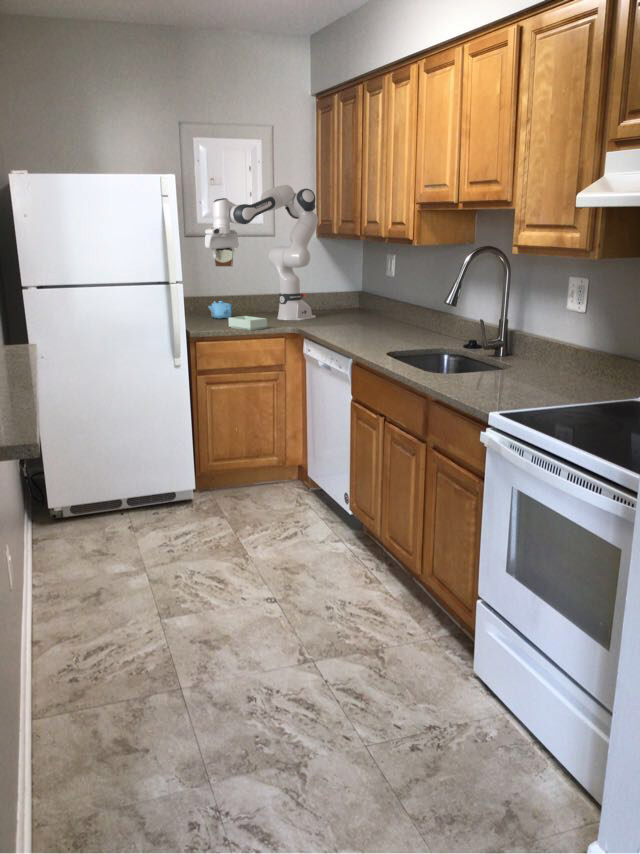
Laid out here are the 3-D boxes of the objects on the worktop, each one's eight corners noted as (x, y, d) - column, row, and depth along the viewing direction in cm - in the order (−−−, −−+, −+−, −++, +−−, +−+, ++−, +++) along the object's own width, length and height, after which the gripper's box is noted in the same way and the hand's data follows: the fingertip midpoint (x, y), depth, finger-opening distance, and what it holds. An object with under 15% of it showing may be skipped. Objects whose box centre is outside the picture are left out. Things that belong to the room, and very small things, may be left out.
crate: (245, 325, 398) (245, 315, 397) (267, 328, 387) (266, 318, 386) (228, 327, 391) (228, 317, 390) (250, 330, 379) (250, 320, 378)
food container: (238, 266, 412) (237, 246, 409) (234, 266, 406) (233, 247, 404) (217, 266, 415) (216, 247, 412) (212, 266, 409) (211, 247, 407)
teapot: (238, 320, 421) (238, 301, 418) (215, 321, 414) (214, 303, 411) (224, 316, 436) (223, 298, 433) (201, 318, 428) (200, 300, 426)
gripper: (233, 230, 414) (233, 256, 417) (202, 230, 400) (203, 257, 403) (240, 230, 409) (241, 256, 413) (209, 230, 395) (211, 257, 399)
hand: (222, 257), depth 408 cm, fingers open, 8 cm apart
